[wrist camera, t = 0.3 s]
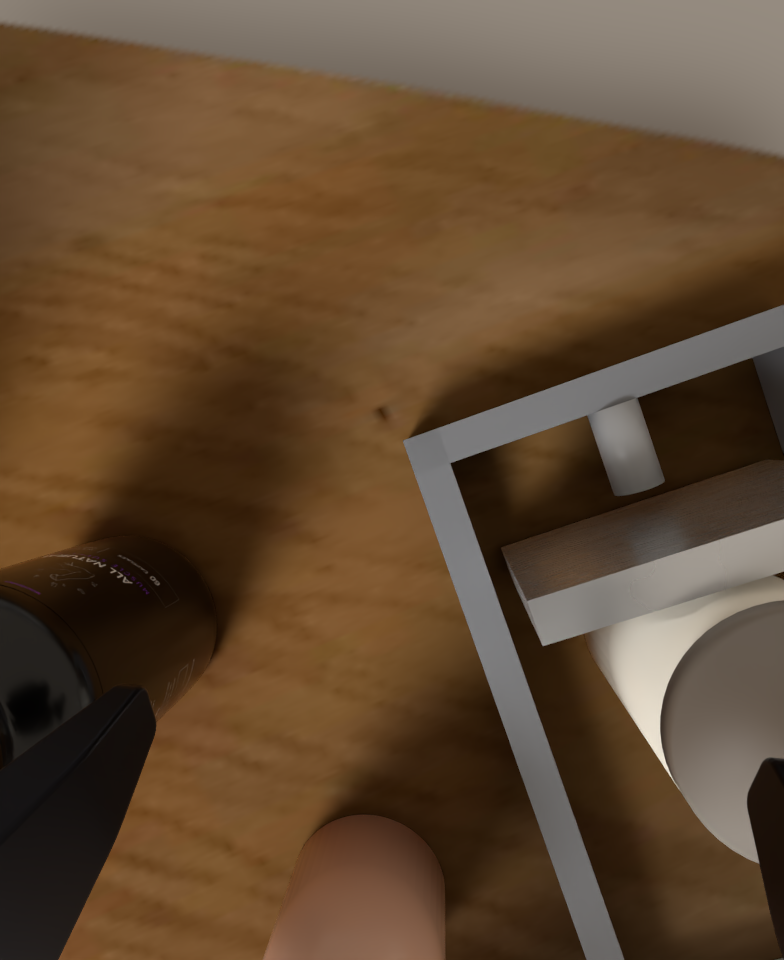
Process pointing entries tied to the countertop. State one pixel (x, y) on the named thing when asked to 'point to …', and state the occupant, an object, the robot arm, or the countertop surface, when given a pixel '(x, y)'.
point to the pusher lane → (631, 469)
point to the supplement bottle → (97, 633)
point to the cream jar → (706, 695)
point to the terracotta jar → (362, 896)
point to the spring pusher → (652, 553)
